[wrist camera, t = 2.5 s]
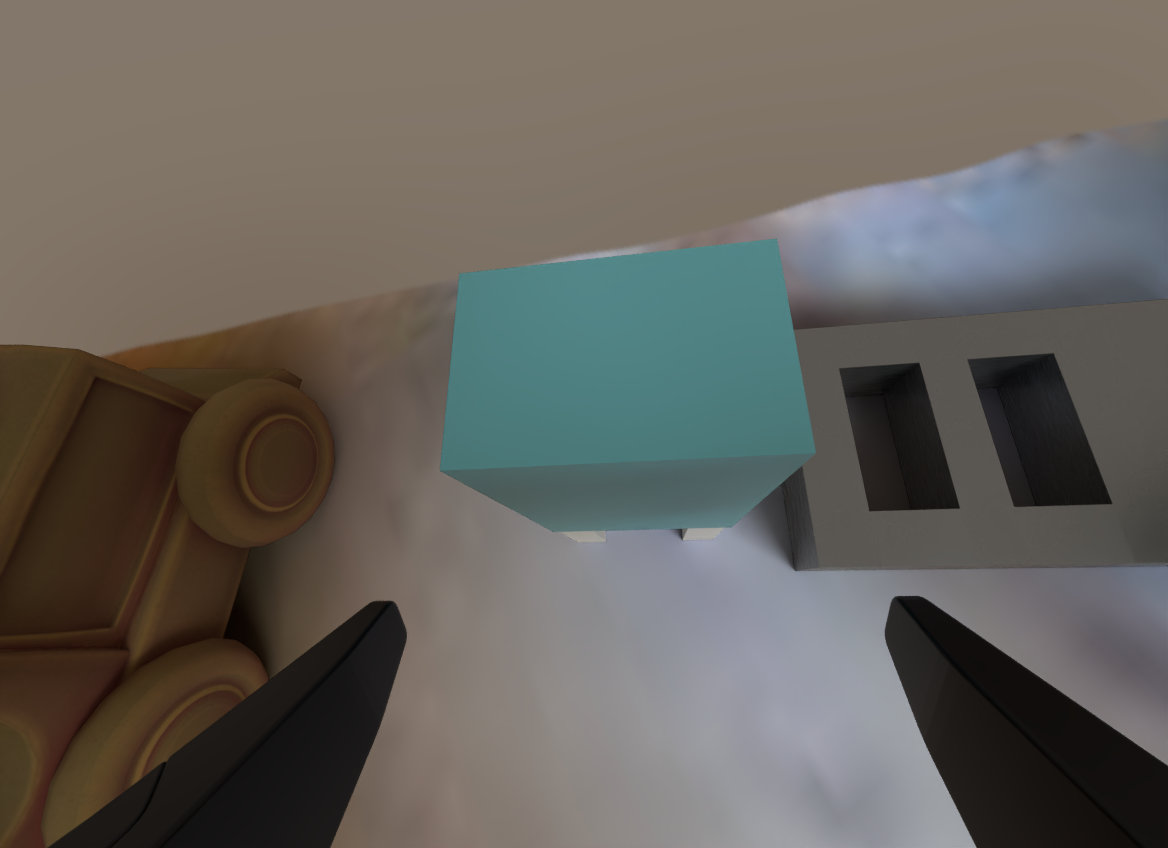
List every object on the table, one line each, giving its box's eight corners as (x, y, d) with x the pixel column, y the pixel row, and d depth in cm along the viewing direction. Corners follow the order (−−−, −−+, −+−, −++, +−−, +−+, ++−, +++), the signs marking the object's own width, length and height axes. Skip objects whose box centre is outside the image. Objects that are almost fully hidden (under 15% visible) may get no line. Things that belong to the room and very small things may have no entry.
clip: (717, 539, 19) (815, 453, 7) (573, 542, 20) (439, 470, 8) (708, 446, 20) (776, 239, 8) (573, 452, 21) (459, 273, 9)
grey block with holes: (1337, 563, 16) (1483, 558, 13) (795, 570, 18) (819, 567, 15) (1214, 331, 19) (1311, 287, 16) (763, 365, 21) (779, 331, 18)
